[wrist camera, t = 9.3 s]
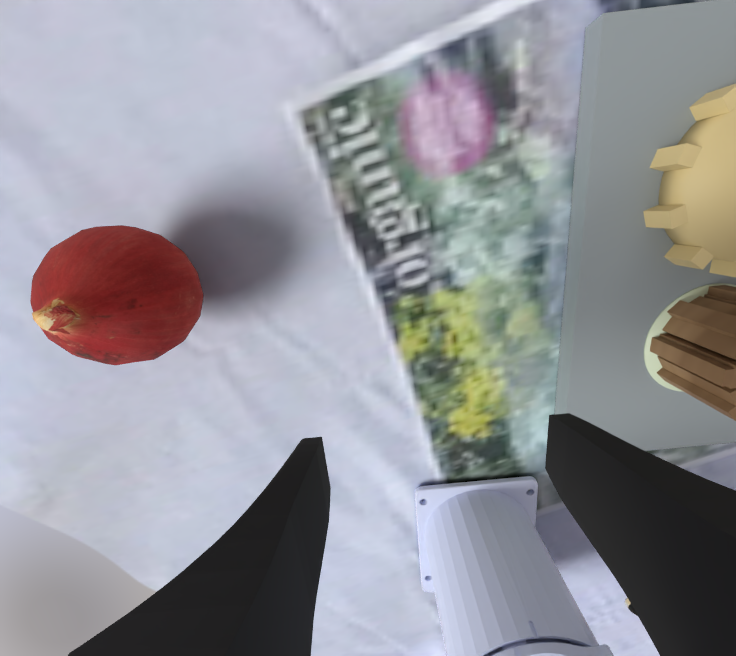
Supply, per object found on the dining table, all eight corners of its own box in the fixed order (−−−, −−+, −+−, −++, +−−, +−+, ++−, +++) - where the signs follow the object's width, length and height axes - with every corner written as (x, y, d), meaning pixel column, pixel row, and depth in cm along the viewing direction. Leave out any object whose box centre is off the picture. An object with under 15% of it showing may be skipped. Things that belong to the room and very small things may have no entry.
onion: (216, 343, 20) (126, 426, 12) (111, 313, 19) (-53, 382, 12) (236, 243, 18) (145, 267, 10) (121, 206, 17) (-64, 205, 10)
